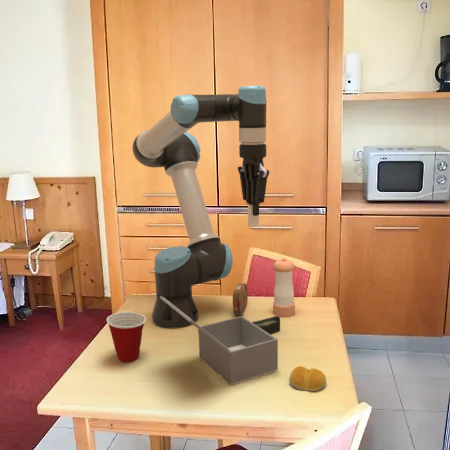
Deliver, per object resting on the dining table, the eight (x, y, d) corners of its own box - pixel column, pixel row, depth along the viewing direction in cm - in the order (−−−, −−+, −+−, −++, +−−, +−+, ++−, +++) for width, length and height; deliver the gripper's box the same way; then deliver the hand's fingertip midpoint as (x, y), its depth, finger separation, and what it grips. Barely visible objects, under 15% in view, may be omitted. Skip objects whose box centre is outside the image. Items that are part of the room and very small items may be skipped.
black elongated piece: (275, 314, 161) (237, 325, 152) (282, 316, 158) (244, 328, 150) (275, 328, 162) (237, 341, 153) (282, 332, 160) (244, 344, 151)
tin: (241, 319, 169) (240, 295, 167) (231, 318, 169) (231, 294, 168) (248, 302, 183) (248, 279, 181) (239, 302, 184) (239, 279, 182)
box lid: (196, 323, 142) (195, 325, 142) (161, 295, 135) (159, 297, 135) (230, 350, 126) (228, 352, 126) (191, 319, 119) (189, 322, 119)
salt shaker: (269, 314, 172) (268, 259, 168) (279, 307, 178) (279, 253, 174) (288, 318, 168) (288, 262, 164) (298, 311, 174) (299, 256, 169)
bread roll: (323, 395, 124) (323, 380, 123) (286, 389, 127) (286, 374, 126) (328, 378, 132) (328, 363, 131) (293, 372, 135) (294, 358, 134)
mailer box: (199, 356, 144) (198, 326, 142) (242, 344, 151) (241, 316, 149) (231, 385, 129) (230, 352, 127) (277, 371, 135) (277, 339, 133)
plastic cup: (149, 364, 140) (146, 323, 138) (108, 369, 139) (105, 327, 136) (148, 347, 151) (145, 308, 148) (110, 350, 149) (107, 311, 146)
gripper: (277, 143, 139) (277, 228, 145) (251, 141, 150) (252, 220, 156) (254, 145, 136) (254, 232, 141) (229, 142, 147) (230, 223, 152)
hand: (253, 226), depth 148 cm, fingers closed
